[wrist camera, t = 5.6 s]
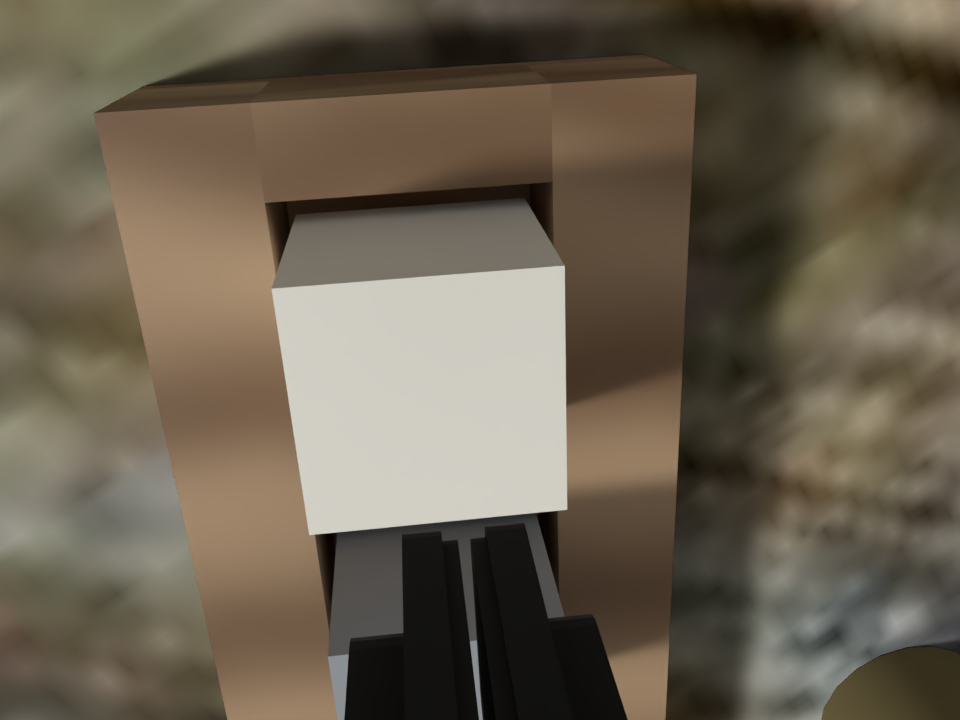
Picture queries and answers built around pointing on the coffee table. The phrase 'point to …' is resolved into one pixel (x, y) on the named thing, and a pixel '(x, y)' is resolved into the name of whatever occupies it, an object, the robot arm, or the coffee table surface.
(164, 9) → the coffee table surface
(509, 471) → the key ivory
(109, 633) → the coffee table surface
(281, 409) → the wooden slotted tray
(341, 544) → the grey cube
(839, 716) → the cork
